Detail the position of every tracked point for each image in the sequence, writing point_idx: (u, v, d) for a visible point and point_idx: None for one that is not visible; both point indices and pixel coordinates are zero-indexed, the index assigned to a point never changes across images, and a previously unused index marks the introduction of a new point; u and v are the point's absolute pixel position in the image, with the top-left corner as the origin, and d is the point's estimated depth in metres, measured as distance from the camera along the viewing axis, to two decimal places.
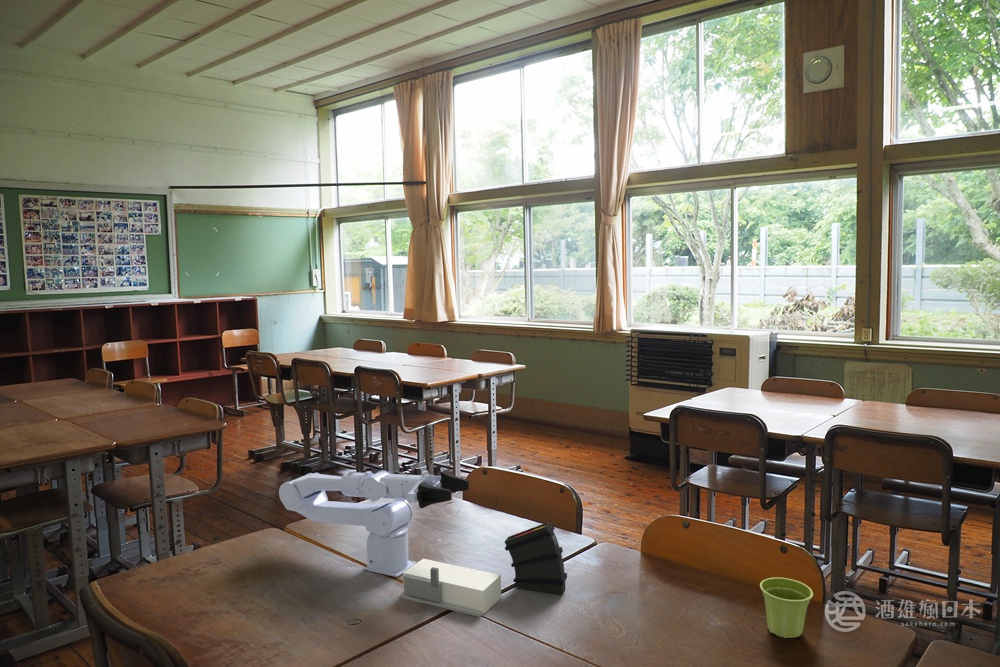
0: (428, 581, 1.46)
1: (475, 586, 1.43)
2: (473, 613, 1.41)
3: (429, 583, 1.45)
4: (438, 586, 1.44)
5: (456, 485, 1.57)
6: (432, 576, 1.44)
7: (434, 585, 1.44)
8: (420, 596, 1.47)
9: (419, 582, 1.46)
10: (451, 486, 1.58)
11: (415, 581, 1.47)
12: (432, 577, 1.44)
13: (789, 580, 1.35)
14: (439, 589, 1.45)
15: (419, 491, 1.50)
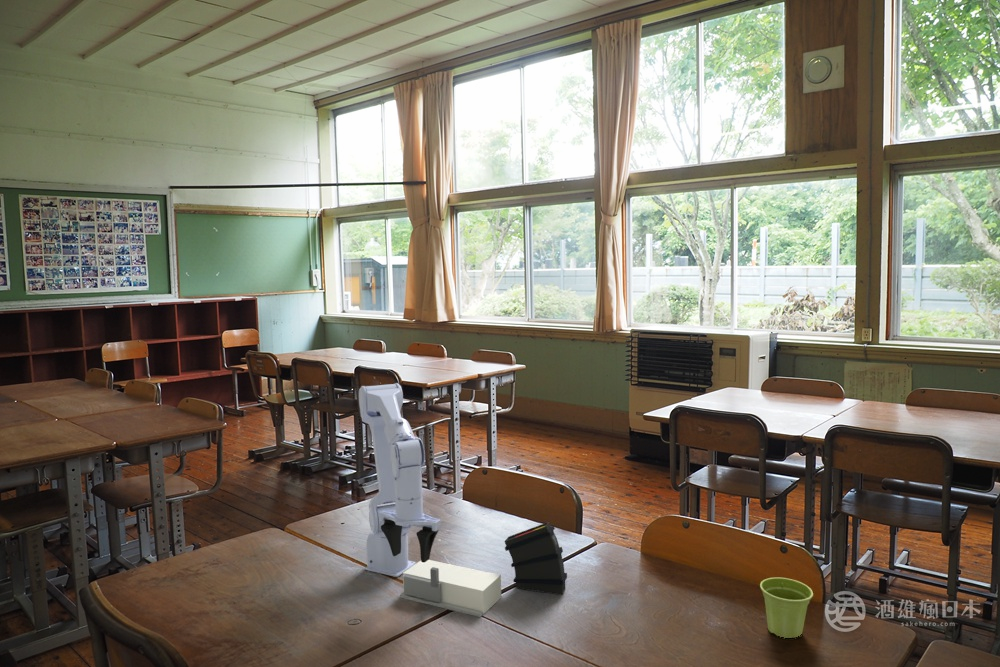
0: (428, 581, 1.46)
1: (475, 586, 1.43)
2: (473, 613, 1.41)
3: (429, 583, 1.45)
4: (438, 586, 1.44)
5: None
6: (432, 576, 1.44)
7: (434, 585, 1.44)
8: (420, 596, 1.47)
9: (419, 582, 1.46)
10: None
11: (415, 581, 1.47)
12: (432, 577, 1.44)
13: (789, 580, 1.35)
14: (439, 589, 1.45)
15: None
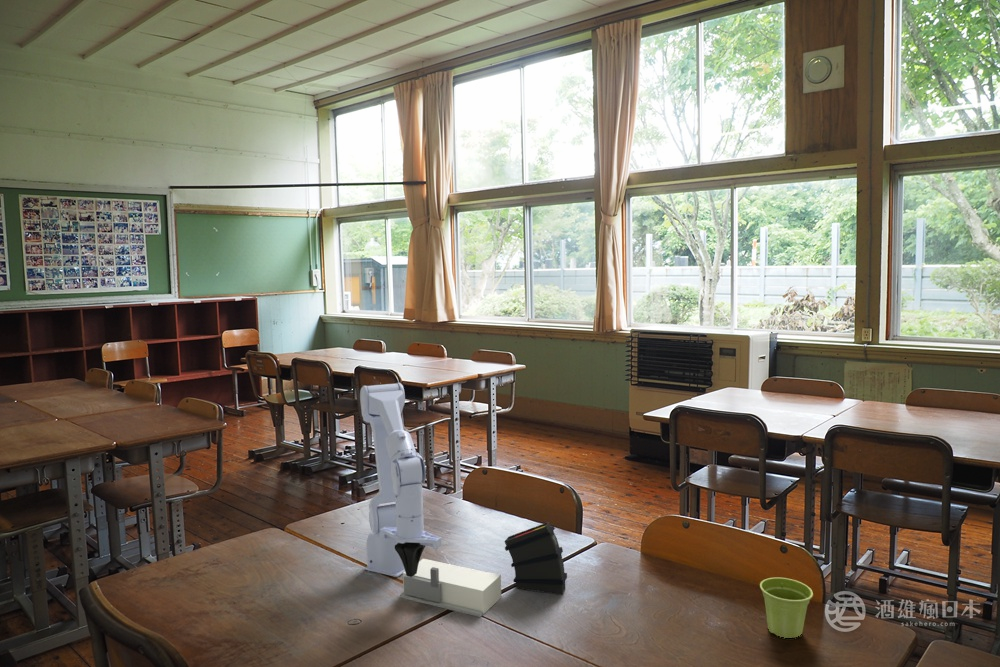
0: (428, 581, 1.46)
1: (475, 586, 1.43)
2: (473, 613, 1.41)
3: (429, 583, 1.45)
4: (438, 586, 1.44)
5: None
6: (432, 576, 1.44)
7: (434, 585, 1.44)
8: (420, 596, 1.47)
9: (419, 582, 1.46)
10: None
11: (415, 581, 1.47)
12: (432, 577, 1.44)
13: (789, 580, 1.35)
14: (439, 589, 1.45)
15: None
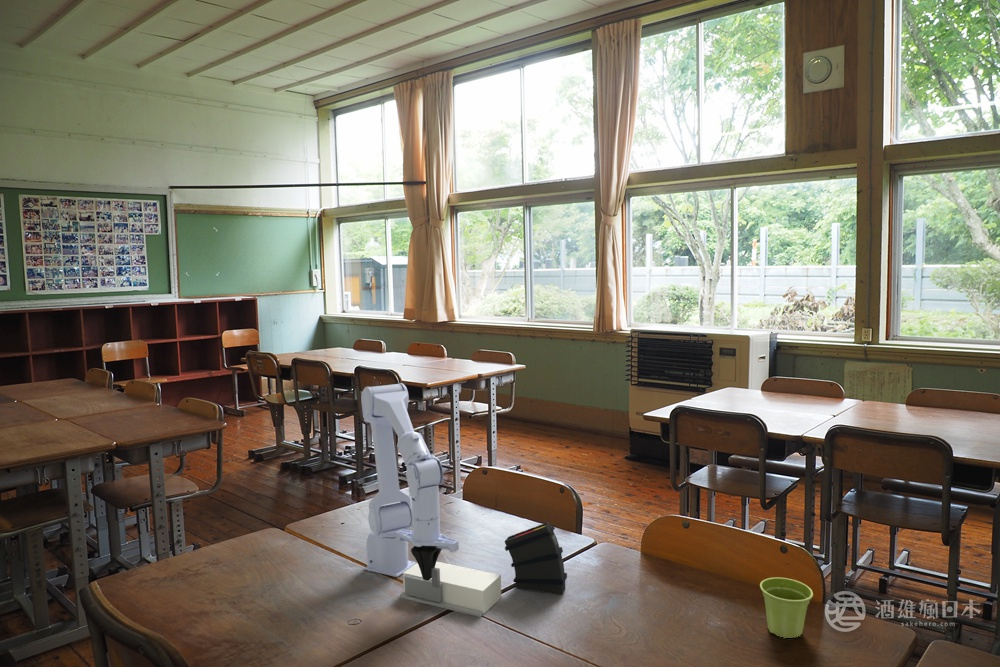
0: (429, 581, 1.46)
1: (475, 586, 1.43)
2: (473, 613, 1.41)
3: (430, 583, 1.45)
4: (439, 586, 1.44)
5: None
6: (433, 576, 1.44)
7: (435, 585, 1.44)
8: (421, 596, 1.47)
9: (421, 582, 1.46)
10: None
11: (416, 581, 1.47)
12: (433, 577, 1.44)
13: (789, 580, 1.35)
14: (440, 589, 1.44)
15: None
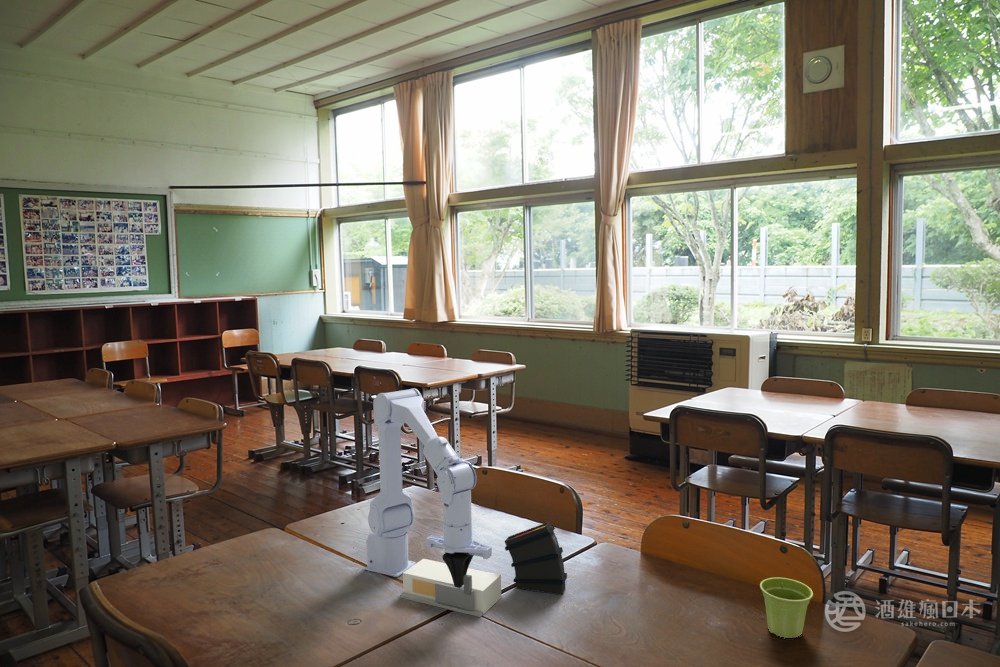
0: (461, 588, 1.42)
1: (475, 586, 1.43)
2: (473, 613, 1.41)
3: (462, 591, 1.42)
4: (471, 594, 1.41)
5: None
6: (465, 583, 1.40)
7: (467, 593, 1.40)
8: (452, 604, 1.43)
9: (452, 589, 1.43)
10: None
11: (447, 588, 1.43)
12: (465, 584, 1.41)
13: (789, 580, 1.35)
14: (472, 597, 1.41)
15: None
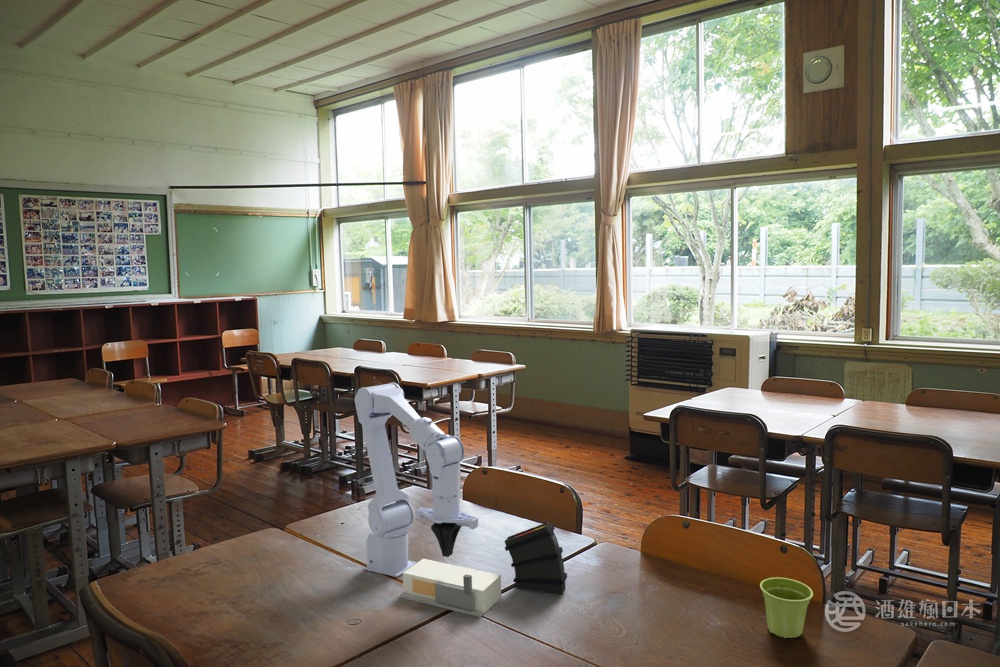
0: (461, 588, 1.42)
1: (475, 586, 1.43)
2: (473, 613, 1.41)
3: (462, 591, 1.42)
4: (471, 594, 1.41)
5: None
6: (465, 583, 1.40)
7: (467, 593, 1.40)
8: (452, 604, 1.43)
9: (452, 589, 1.43)
10: None
11: (447, 588, 1.43)
12: (465, 584, 1.41)
13: (789, 580, 1.35)
14: (472, 597, 1.41)
15: None
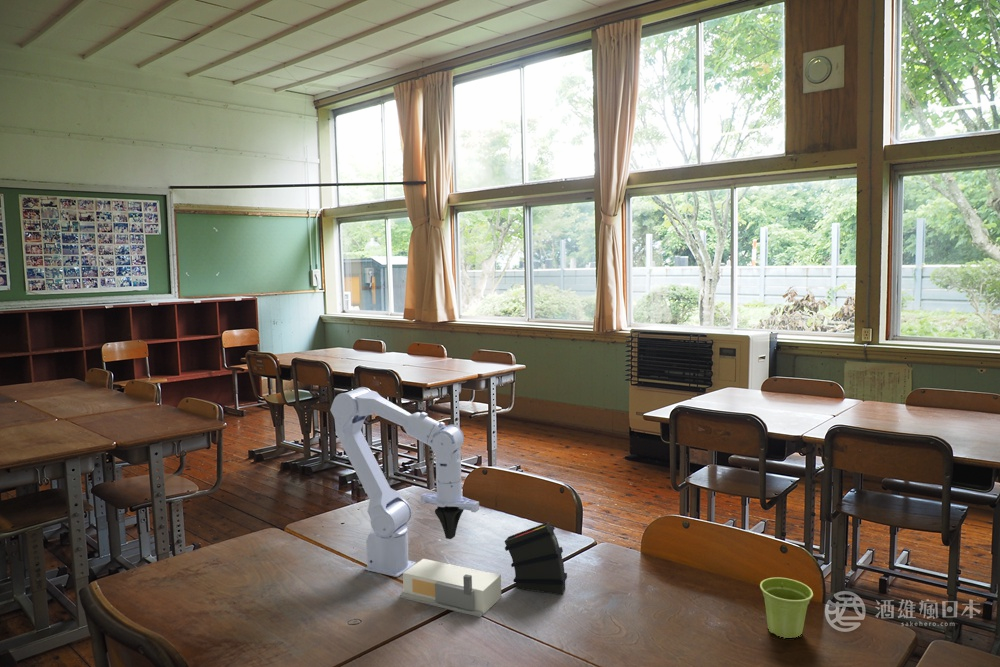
0: (461, 588, 1.42)
1: (475, 586, 1.43)
2: (473, 613, 1.41)
3: (462, 591, 1.42)
4: (471, 594, 1.41)
5: None
6: (465, 583, 1.40)
7: (467, 593, 1.40)
8: (452, 604, 1.43)
9: (452, 589, 1.43)
10: None
11: (447, 588, 1.43)
12: (465, 584, 1.41)
13: (789, 580, 1.35)
14: (472, 597, 1.41)
15: None
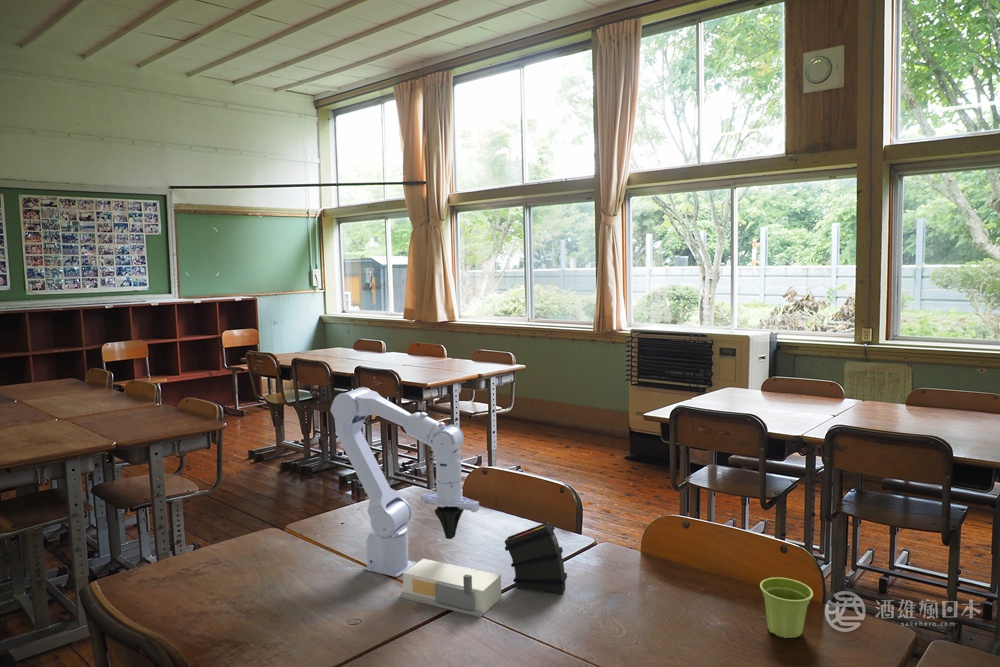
0: (461, 588, 1.42)
1: (475, 586, 1.43)
2: (473, 613, 1.41)
3: (462, 591, 1.42)
4: (471, 594, 1.41)
5: None
6: (465, 583, 1.40)
7: (467, 593, 1.40)
8: (452, 604, 1.43)
9: (452, 589, 1.43)
10: None
11: (447, 588, 1.43)
12: (465, 584, 1.41)
13: (789, 580, 1.35)
14: (472, 597, 1.41)
15: None
